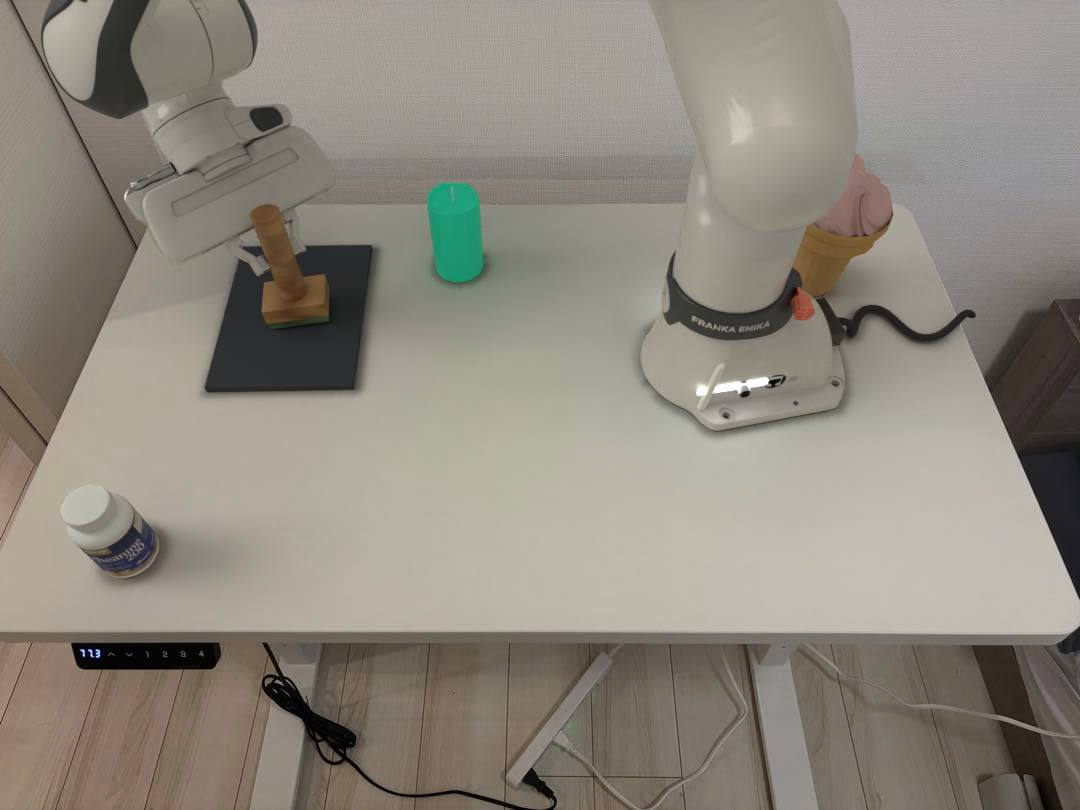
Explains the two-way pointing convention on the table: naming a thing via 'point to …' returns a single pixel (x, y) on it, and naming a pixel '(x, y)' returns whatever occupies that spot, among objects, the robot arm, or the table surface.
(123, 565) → the pill bottle
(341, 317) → the mat
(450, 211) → the candle
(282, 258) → the wooden stamp
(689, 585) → the table surface
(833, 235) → the ice cream cone
